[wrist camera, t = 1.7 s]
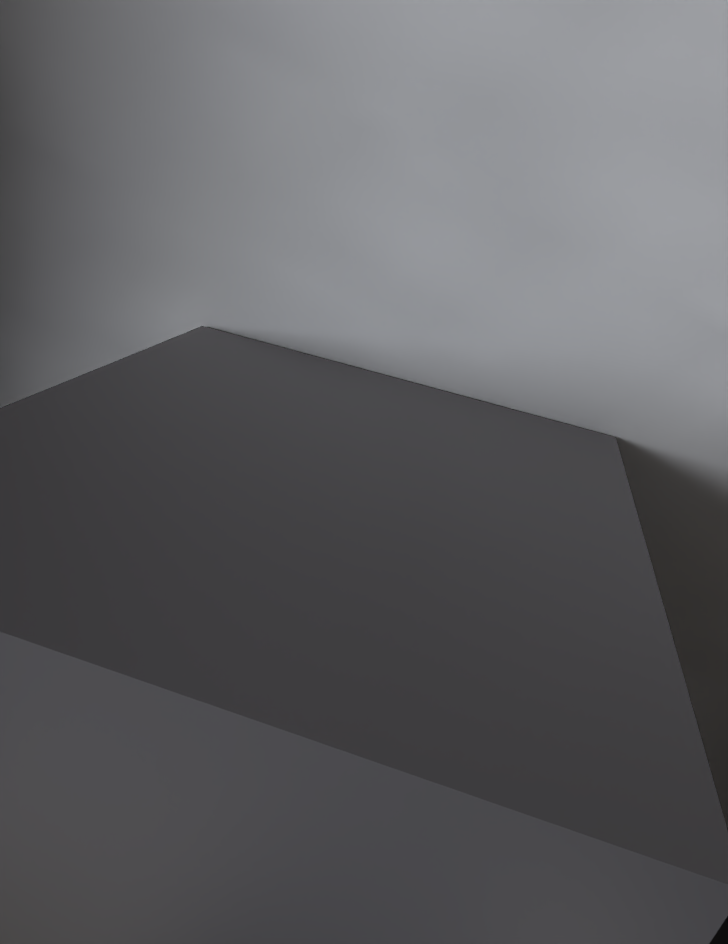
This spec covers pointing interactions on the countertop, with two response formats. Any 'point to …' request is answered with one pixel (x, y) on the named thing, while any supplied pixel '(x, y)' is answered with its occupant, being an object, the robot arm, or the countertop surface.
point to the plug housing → (334, 669)
